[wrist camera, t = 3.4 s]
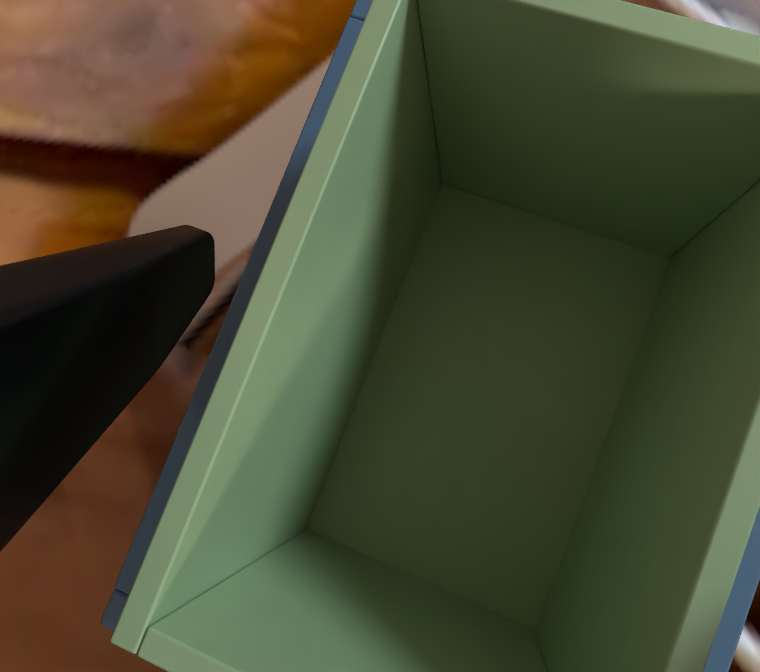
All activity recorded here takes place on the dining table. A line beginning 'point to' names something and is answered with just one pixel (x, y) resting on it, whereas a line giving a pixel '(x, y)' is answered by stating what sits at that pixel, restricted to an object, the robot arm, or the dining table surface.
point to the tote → (756, 556)
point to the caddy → (487, 363)
